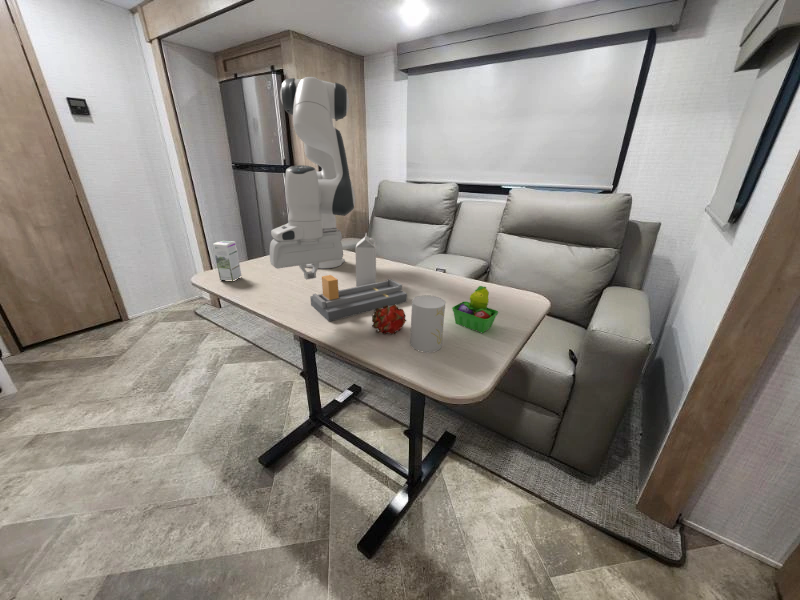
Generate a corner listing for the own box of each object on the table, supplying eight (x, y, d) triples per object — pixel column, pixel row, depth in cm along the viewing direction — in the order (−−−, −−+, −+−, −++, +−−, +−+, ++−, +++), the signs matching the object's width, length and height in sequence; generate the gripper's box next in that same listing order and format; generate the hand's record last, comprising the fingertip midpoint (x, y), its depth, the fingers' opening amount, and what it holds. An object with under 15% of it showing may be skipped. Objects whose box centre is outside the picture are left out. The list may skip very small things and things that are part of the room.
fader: (321, 298, 101) (320, 276, 98) (333, 296, 103) (332, 274, 100) (328, 304, 97) (326, 281, 94) (340, 301, 99) (339, 279, 97)
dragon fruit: (369, 343, 86) (399, 334, 95) (389, 335, 81) (420, 326, 89) (359, 313, 88) (390, 307, 96) (379, 303, 82) (410, 297, 91)
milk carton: (356, 287, 121) (354, 236, 113) (357, 280, 127) (356, 232, 120) (375, 287, 121) (375, 236, 113) (376, 281, 127) (376, 232, 120)
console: (310, 305, 104) (308, 290, 102) (384, 288, 120) (385, 276, 118) (327, 321, 94) (326, 306, 92) (407, 301, 109) (407, 287, 107)
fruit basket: (449, 323, 95) (452, 287, 91) (464, 314, 101) (468, 280, 97) (484, 336, 88) (490, 298, 84) (498, 326, 95) (504, 289, 90)
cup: (438, 354, 79) (442, 310, 75) (406, 349, 81) (408, 305, 77) (443, 339, 87) (447, 297, 82) (414, 334, 89) (416, 293, 84)
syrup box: (242, 277, 127) (236, 240, 121) (233, 282, 122) (226, 244, 116) (229, 276, 128) (222, 239, 122) (219, 281, 122) (211, 243, 117)
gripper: (336, 225, 96) (338, 270, 101) (264, 231, 85) (271, 281, 90) (346, 228, 91) (347, 275, 97) (271, 235, 80) (277, 287, 86)
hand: (310, 278), depth 93 cm, fingers closed
